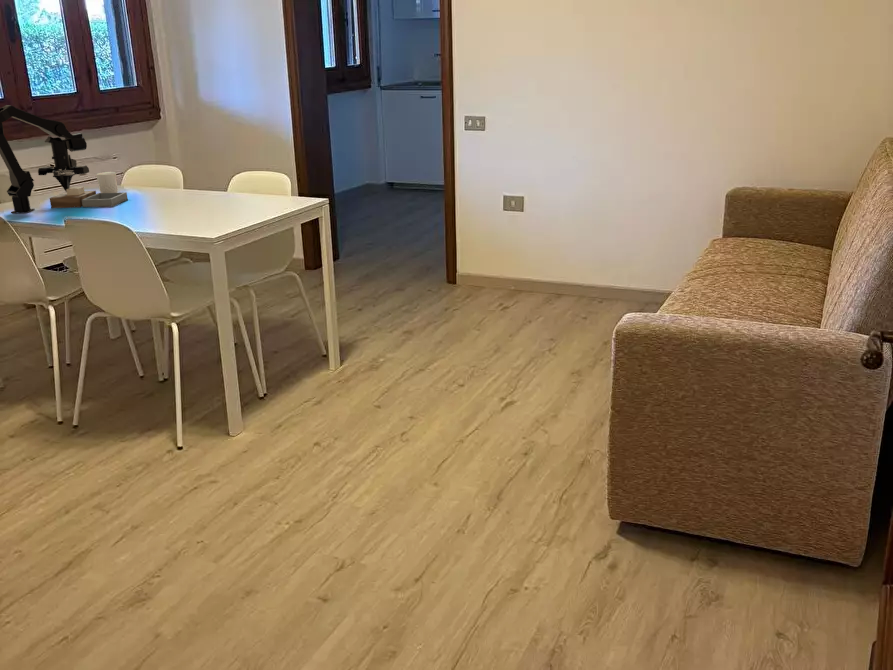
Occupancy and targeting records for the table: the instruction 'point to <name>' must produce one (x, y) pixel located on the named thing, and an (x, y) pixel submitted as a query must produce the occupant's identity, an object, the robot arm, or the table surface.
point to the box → (104, 199)
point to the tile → (75, 191)
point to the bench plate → (69, 200)
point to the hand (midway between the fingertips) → (67, 191)
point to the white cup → (107, 182)
